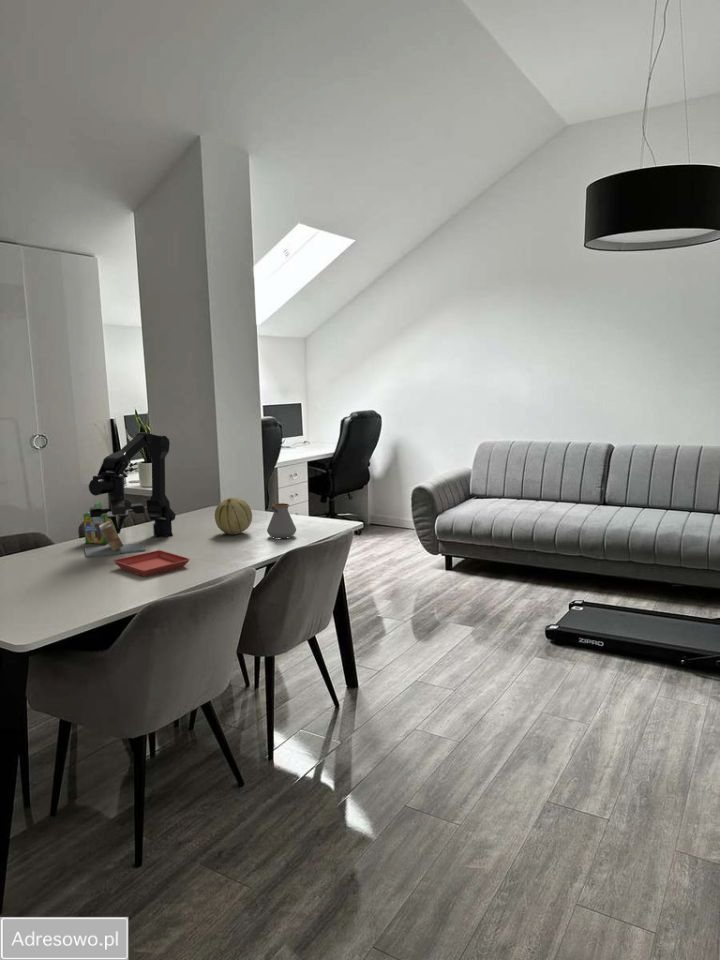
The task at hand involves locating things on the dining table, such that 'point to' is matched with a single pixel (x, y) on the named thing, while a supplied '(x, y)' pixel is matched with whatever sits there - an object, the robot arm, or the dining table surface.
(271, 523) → the coffee pot
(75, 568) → the dining table surface
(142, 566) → the plant saucer
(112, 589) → the dining table surface
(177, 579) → the dining table surface
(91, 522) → the colorful printed box
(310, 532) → the dining table surface
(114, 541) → the block
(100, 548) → the mat
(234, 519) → the cantaloupe
